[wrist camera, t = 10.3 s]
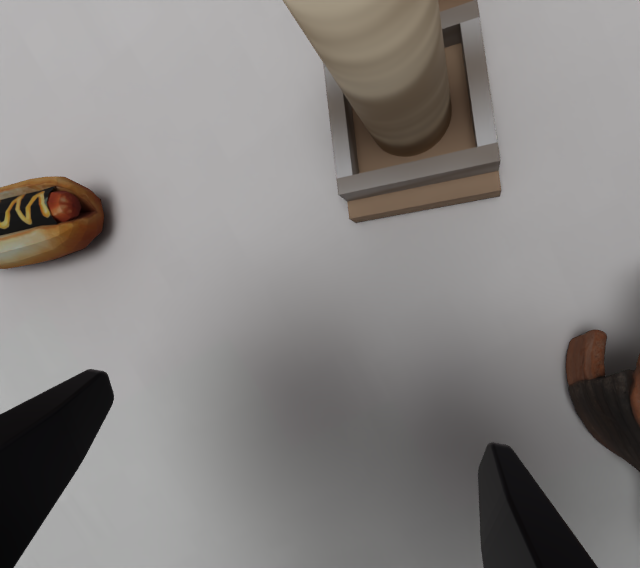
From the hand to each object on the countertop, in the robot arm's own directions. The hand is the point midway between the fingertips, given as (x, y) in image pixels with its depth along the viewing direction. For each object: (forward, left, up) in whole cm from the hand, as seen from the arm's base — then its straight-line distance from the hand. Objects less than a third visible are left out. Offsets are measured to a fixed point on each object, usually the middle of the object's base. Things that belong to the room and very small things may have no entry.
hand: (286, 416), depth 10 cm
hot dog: (+19, +17, -13) cm, 29 cm away
